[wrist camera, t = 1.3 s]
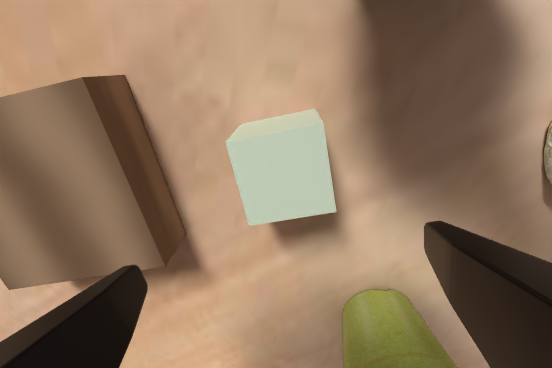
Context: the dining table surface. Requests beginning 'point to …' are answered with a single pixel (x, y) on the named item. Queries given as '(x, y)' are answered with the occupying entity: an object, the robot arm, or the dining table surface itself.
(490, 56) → the dining table surface
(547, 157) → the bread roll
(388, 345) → the plant pot
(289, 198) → the sage cube
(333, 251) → the dining table surface
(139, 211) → the walnut base
